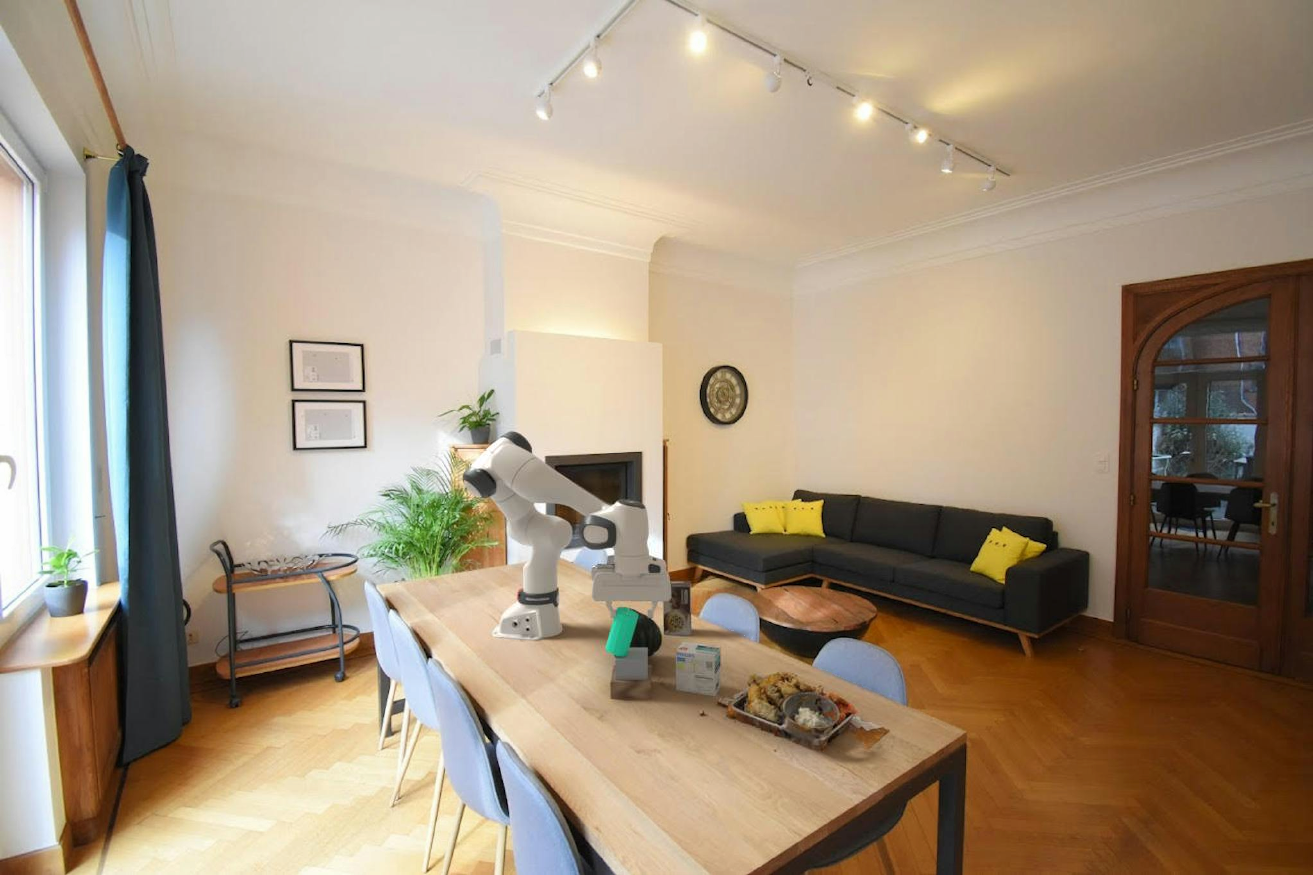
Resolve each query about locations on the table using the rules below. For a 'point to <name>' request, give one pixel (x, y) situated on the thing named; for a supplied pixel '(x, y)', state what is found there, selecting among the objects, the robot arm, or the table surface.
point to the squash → (646, 634)
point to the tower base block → (631, 687)
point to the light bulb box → (698, 668)
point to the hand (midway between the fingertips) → (632, 617)
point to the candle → (621, 631)
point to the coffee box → (678, 609)
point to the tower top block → (632, 665)
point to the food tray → (798, 711)
